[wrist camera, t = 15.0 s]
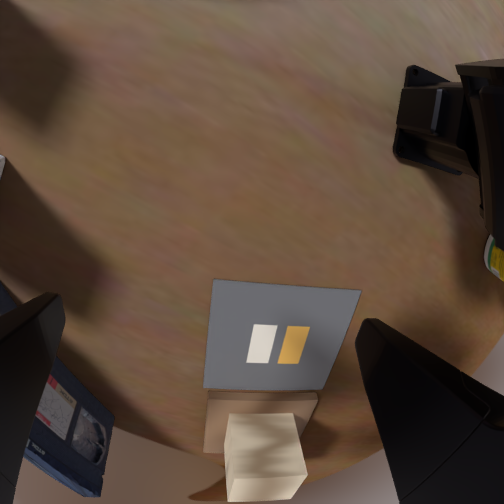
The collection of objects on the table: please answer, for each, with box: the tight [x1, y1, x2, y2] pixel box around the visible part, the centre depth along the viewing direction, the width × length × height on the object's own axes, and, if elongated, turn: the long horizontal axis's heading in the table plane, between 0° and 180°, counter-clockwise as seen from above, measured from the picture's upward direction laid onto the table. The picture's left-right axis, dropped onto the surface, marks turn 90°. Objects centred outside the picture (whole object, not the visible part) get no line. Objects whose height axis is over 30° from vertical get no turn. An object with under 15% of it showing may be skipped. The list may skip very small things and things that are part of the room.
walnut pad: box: [203, 391, 318, 453], centre depth 29 cm, size 10×10×1 cm
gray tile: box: [203, 279, 361, 390], centre depth 25 cm, size 11×11×1 cm
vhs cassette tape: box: [0, 282, 114, 497], centre depth 19 cm, size 18×3×10 cm, turn 21°
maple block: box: [224, 413, 308, 502], centre depth 25 cm, size 6×6×7 cm
